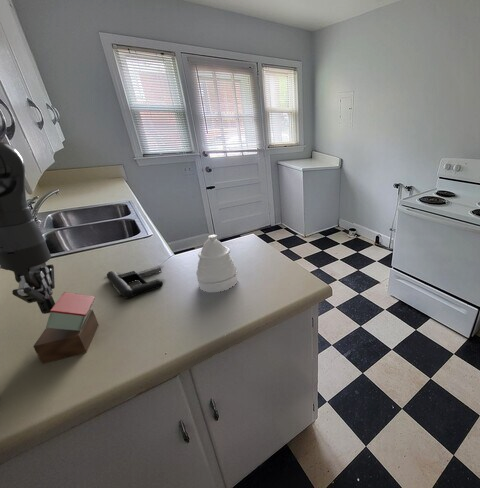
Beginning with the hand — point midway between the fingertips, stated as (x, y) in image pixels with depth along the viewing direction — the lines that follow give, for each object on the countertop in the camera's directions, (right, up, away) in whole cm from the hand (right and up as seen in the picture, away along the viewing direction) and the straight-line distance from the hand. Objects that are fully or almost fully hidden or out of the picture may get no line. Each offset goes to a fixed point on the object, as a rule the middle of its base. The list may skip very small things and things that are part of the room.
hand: (49, 311), depth 63 cm
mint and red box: (+2, -2, +2) cm, 4 cm away
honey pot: (+27, +2, +31) cm, 42 cm away
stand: (+1, -9, +5) cm, 10 cm away
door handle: (-1, +2, +31) cm, 32 cm away
